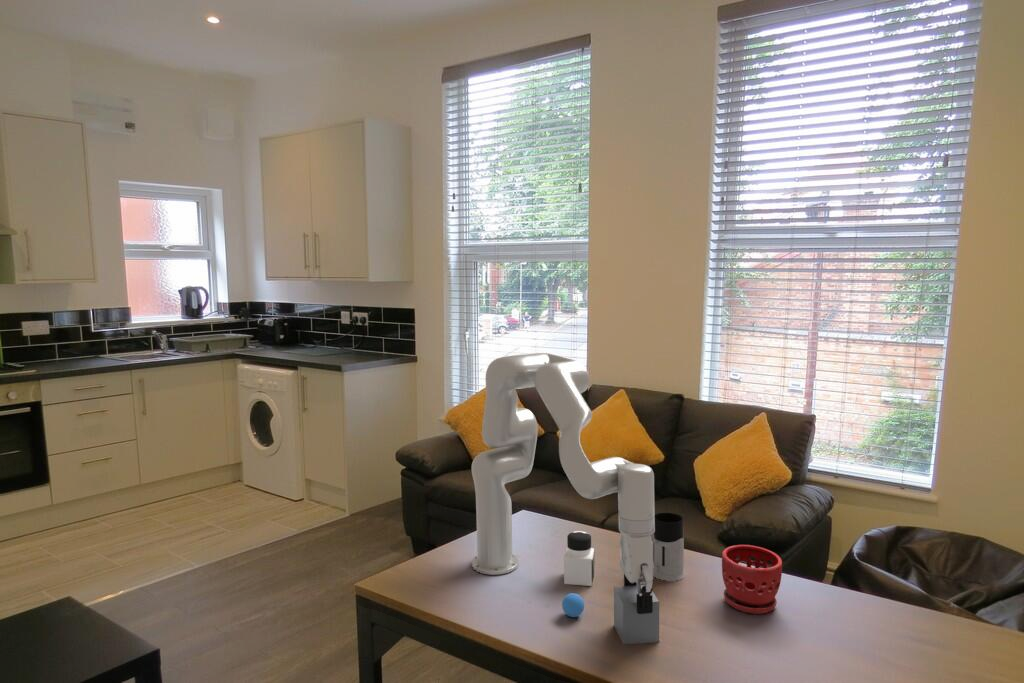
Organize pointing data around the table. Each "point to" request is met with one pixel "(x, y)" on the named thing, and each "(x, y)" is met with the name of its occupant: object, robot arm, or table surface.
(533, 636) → the table surface
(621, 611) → the gray cube
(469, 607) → the table surface
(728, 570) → the plant pot
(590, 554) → the medicine bottle
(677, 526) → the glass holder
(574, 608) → the ball
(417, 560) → the table surface
